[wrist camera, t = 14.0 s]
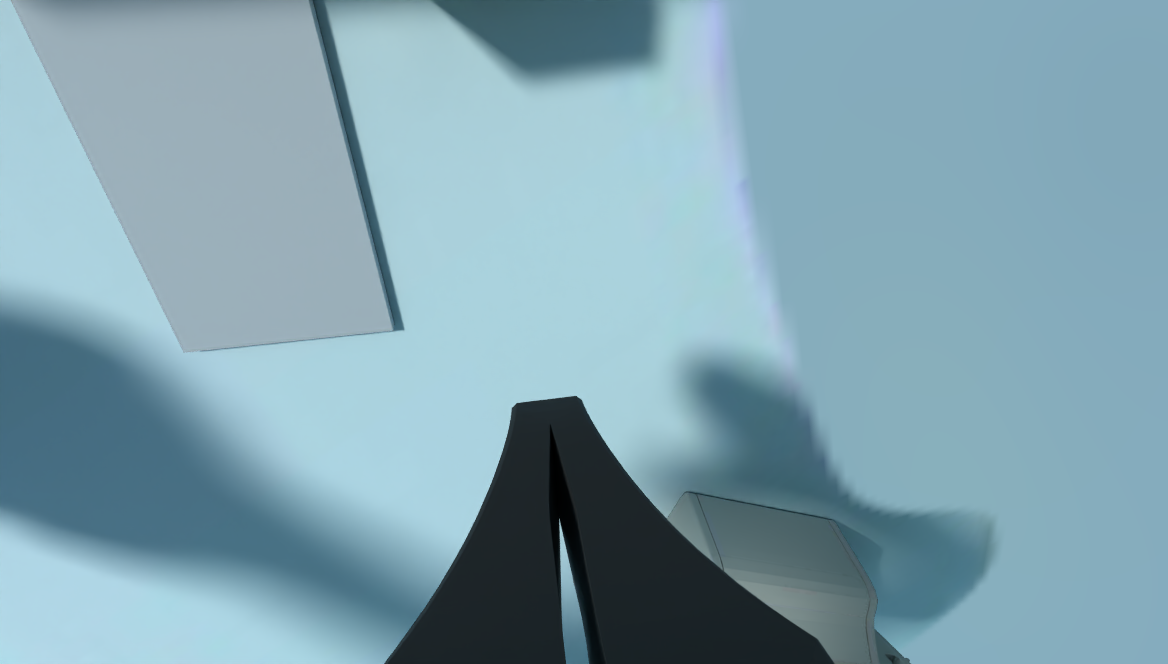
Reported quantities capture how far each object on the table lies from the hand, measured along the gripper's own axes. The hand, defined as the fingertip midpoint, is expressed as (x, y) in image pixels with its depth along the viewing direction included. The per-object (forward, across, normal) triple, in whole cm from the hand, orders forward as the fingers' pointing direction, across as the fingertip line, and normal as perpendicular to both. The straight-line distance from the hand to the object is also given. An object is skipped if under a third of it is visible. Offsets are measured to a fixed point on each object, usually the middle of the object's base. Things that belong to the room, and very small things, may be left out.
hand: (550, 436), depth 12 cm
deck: (+10, +8, -3) cm, 13 cm away
